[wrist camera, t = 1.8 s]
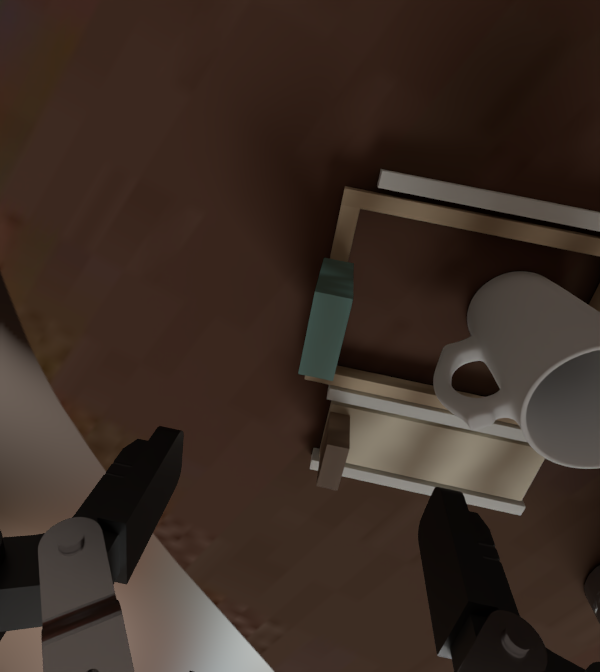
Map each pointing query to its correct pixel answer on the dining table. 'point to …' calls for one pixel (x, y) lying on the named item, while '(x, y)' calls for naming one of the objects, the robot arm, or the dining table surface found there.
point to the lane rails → (433, 414)
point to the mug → (532, 366)
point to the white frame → (338, 287)
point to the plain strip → (424, 452)
